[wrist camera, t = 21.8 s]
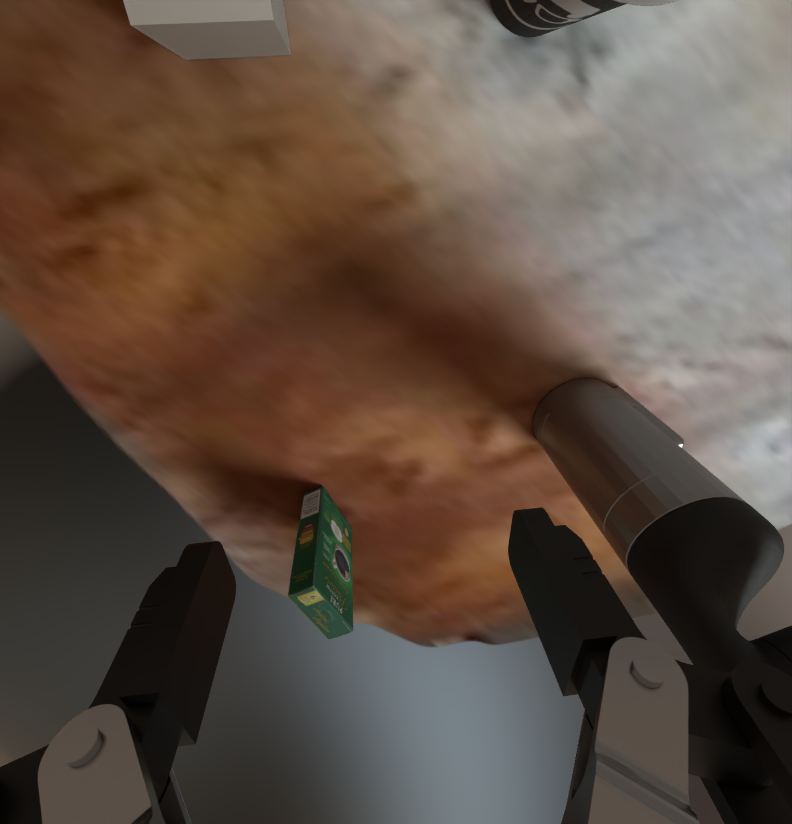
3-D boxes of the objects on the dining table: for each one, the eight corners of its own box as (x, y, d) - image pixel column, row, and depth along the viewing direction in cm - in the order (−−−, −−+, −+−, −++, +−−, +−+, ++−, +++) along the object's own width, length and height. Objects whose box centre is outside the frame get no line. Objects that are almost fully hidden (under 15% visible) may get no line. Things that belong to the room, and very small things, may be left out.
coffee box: (299, 491, 45) (284, 599, 34) (322, 482, 45) (315, 588, 34) (331, 534, 49) (328, 642, 38) (353, 526, 49) (355, 633, 38)
